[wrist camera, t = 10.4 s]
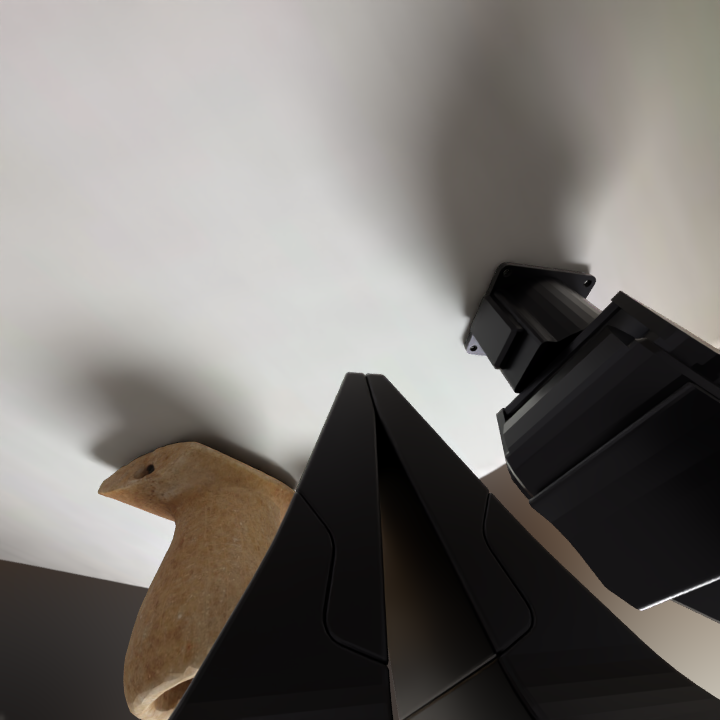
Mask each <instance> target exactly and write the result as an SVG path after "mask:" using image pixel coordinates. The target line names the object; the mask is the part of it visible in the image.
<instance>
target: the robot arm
mask: <svg viewBox="0 0 720 720" xmlns="http://www.w3.org/2000/svg"><path fill="white" fill-rule="evenodd" d="M507 269H509V270H508V272H507V273H506V274H503V272H504V271H505V270H507ZM585 281H587V282H586V283H585V284H584V282H585ZM595 282H596V278H595V277H594V276H592V275H591V274H589V273H582V272H575V271H567V270H560V269H552V268H545V267H537V266H530V265H523V264H515V263H503V264H501V265H500V266H499V267H498V268H497V270H496V273H495V275H494V277H493V280H492V282H491V284H490V287H489V289H488V291H487V294H486V295H485V296H484V297H483V299H482V302H481V304H480V306H479V309H478V311H477V314H476V316H475V318H474V321H473V323H472V325H471V328H470V331H471V332H470V334H469V336H468V339H467V341H466V344H465V349H466V351H467V352H468V353H469V354H474V355H486V356H487V357H488V359H489V360H490V362H491V363H492V365H493V366H494V368H495V369H500V371H501V372H502V374H503V375H504V377H505V378H506V380H507V381H508V383H509V384H510V386H511V387H512V389H513V390H514V392H515V393H520V394H519V395H518V396H517V397H516V398H515V399H514V400H513V401H512V402H511V403H510V404H509V405H508V406H507V407H506V408H502V409H501V410H500V411H499V412H498V413H497V414H496V416H497V421H498V426H499V430H500V435H501V440H502V445H503V450H504V455H505V460H506V464H507V467H508V471H509V473H510V475H511V478H512V480H513V481H514V483H515V484H516V485H517V486H518V488H519V489H520V490H521V492H522V493H523V494H524V495H525V496H526V497H527V498H528V499H529V504H530V505H531V507H532V508H533V509H535V510H536V511H537V512H538V513H540V514H541V515H542V516H543V517H545V518H546V519H547V520H548V521H549V522H551V523H552V524H553V525H554V526H555V527H556V528H557V529H558V530H559V531H560V532H561V533H562V535H563V536H564V537H565V538H566V539H567V540H568V541H569V542H570V543H571V544H572V546H573V547H574V548H575V549H576V550H577V551H578V553H579V554H580V555H581V556H582V558H583V559H584V560H585V562H586V563H587V564H588V565H589V567H590V568H591V569H592V571H593V572H594V573H595V575H596V576H597V577H598V579H599V580H600V581H601V582H602V584H603V585H604V586H605V587H606V588H607V589H608V590H610V591H611V592H613V593H614V594H616V595H617V596H618V597H620V598H621V599H623V600H624V601H626V602H627V603H628V604H630V605H631V606H633V607H634V608H636V609H638V610H645V609H648V608H650V607H653V606H655V605H658V604H660V603H663V602H665V601H668V600H672V601H673V602H676V603H678V604H680V605H682V606H684V607H686V608H688V609H690V610H692V611H695V612H696V613H699V614H701V615H703V616H705V617H707V618H709V619H711V620H713V621H715V622H717V623H720V350H718V349H716V348H715V347H713V346H712V345H710V344H708V343H707V342H705V341H704V340H702V339H700V338H699V337H697V336H695V335H694V334H692V333H691V332H689V331H687V330H686V329H684V328H683V327H681V326H679V325H678V324H676V323H674V322H673V321H671V320H669V319H668V318H666V317H664V316H662V315H661V314H659V313H657V312H656V311H654V310H652V309H651V308H649V307H647V306H646V305H644V304H642V303H640V302H639V301H637V300H635V299H634V298H632V297H630V296H629V295H627V294H625V293H624V292H622V291H619V292H618V293H617V294H616V295H615V296H614V297H613V298H612V299H611V301H612V302H611V303H610V304H609V305H608V306H607V307H606V308H605V309H604V310H603V311H601V310H600V309H598V308H597V307H595V306H594V305H593V304H591V303H590V302H589V301H587V300H586V297H587V296H588V294H589V293H590V291H591V289H592V288H593V286H594V285H595ZM474 345H475V346H474ZM472 346H474V347H473V348H471V347H472ZM488 493H489V490H488V489H487V487H486V486H485V485H484V484H483V483H482V482H481V481H480V480H479V479H478V478H477V476H476V475H475V474H474V473H473V472H472V471H471V470H470V469H469V468H468V467H467V466H466V464H465V463H464V462H463V461H462V460H461V459H460V458H459V457H458V456H457V455H456V453H455V452H454V451H453V450H452V449H451V448H450V447H449V446H448V445H447V444H446V443H445V441H444V440H443V439H442V438H441V437H440V436H439V435H438V434H437V433H436V432H435V430H434V429H433V428H432V427H431V426H430V425H429V424H428V423H427V422H426V421H425V420H424V418H423V417H422V416H421V415H420V414H419V413H418V412H417V411H416V410H415V409H414V407H413V406H412V405H411V404H410V403H409V402H408V401H407V400H406V399H405V398H404V397H403V395H402V394H401V393H400V392H399V391H398V390H397V389H396V388H395V387H394V386H393V384H392V383H391V382H390V381H389V380H388V379H387V378H386V377H385V376H384V375H382V374H369V373H368V374H366V375H364V374H363V373H354V372H348V373H346V375H345V377H344V379H343V382H342V384H341V386H340V389H339V391H338V393H337V396H336V398H335V400H334V403H333V405H332V407H331V410H330V412H329V414H328V417H327V419H326V421H325V424H324V426H323V428H322V431H321V433H320V435H319V438H318V440H317V442H316V445H315V447H314V449H313V451H312V454H311V456H310V458H309V461H308V463H307V465H306V468H305V470H304V472H303V475H302V477H301V479H300V482H299V484H298V486H297V489H296V493H294V495H293V497H292V500H291V502H290V504H289V507H288V509H287V511H286V513H285V516H284V518H283V520H282V522H281V524H280V526H279V528H278V530H277V533H276V535H275V537H274V539H273V541H272V543H271V545H270V547H269V548H268V550H267V552H266V554H265V556H264V558H263V559H262V561H261V563H260V565H259V567H258V569H257V570H256V572H255V574H254V576H253V578H252V579H251V581H250V583H249V585H248V586H247V588H246V590H245V591H244V593H243V595H242V596H241V598H240V600H239V602H238V603H237V605H236V607H235V608H234V610H233V612H232V613H231V615H230V617H229V619H228V620H227V622H226V624H225V625H224V627H223V629H222V630H221V632H220V634H219V636H218V637H217V639H216V641H215V642H214V644H213V646H212V647H211V649H210V651H209V653H208V654H207V656H206V658H205V659H204V661H203V663H202V664H201V666H200V668H199V670H198V671H197V673H196V675H195V676H194V678H193V680H192V681H191V683H190V685H189V686H188V688H187V690H186V691H185V693H184V694H183V696H182V698H181V699H180V701H179V703H178V704H177V706H176V707H175V709H174V711H173V712H172V714H171V715H170V717H169V718H168V720H393V715H392V704H391V693H390V679H389V669H388V667H387V665H388V661H389V660H388V651H389V657H390V663H391V670H392V676H393V682H394V689H395V695H396V701H397V708H398V714H399V719H400V720H720V700H719V699H718V698H716V697H715V696H713V695H711V694H710V693H708V692H707V691H705V690H704V689H702V688H701V687H699V686H698V685H696V684H695V683H693V682H692V681H691V680H689V679H688V678H687V677H685V676H684V675H682V674H681V673H680V672H678V671H677V670H676V669H674V668H673V667H672V666H671V665H670V664H668V663H667V662H666V661H665V660H663V659H662V658H661V657H660V656H659V655H657V654H656V653H655V652H654V651H653V650H652V649H651V648H649V647H648V646H647V645H646V644H645V643H644V642H643V641H642V640H641V639H640V638H638V636H637V635H635V634H634V633H633V632H632V631H631V630H630V629H629V628H628V627H627V626H626V625H625V624H624V623H623V622H622V621H621V620H620V619H618V618H617V617H616V616H615V615H614V614H613V613H612V612H611V611H610V610H609V609H608V608H607V607H606V606H605V605H604V604H602V603H601V602H600V601H599V600H598V599H597V598H596V597H595V596H594V595H593V594H592V593H591V592H590V591H589V590H588V589H587V588H586V587H584V586H583V585H582V584H581V583H580V582H579V581H578V580H577V579H576V578H575V577H574V576H573V575H572V574H571V573H570V572H569V571H568V570H567V569H565V568H564V567H563V566H562V565H561V564H560V563H559V562H558V561H557V560H556V559H555V558H554V557H553V556H552V555H551V554H550V553H549V552H548V551H547V550H546V549H545V548H544V547H543V546H542V545H541V544H540V543H539V542H538V541H537V540H536V539H534V537H532V535H531V534H530V533H529V532H528V531H527V530H526V529H525V528H524V527H523V526H522V525H521V524H520V523H519V522H518V521H517V520H516V519H515V518H514V517H513V515H512V514H511V513H509V511H508V510H507V509H506V508H505V507H504V506H503V505H502V504H501V503H500V501H499V500H498V499H497V498H496V497H495V496H494V495H493V494H492V493H489V494H488Z"/></svg>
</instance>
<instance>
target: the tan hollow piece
mask: <svg viewBox="0 0 720 720" xmlns="http://www.w3.org/2000/svg"><path fill="white" fill-rule="evenodd" d="M294 493H296V492H295V491H294V490H292V489H291V488H290V487H288V486H287V485H286V484H284V483H282V482H281V481H279V480H277V479H275V478H273V477H271V476H269V475H267V474H265V473H264V472H262V471H259V470H257V469H255V468H253V467H251V466H249V465H247V464H245V463H243V462H240V461H238V460H236V459H234V458H232V457H229V456H227V455H225V454H223V453H221V452H219V451H217V450H214V449H212V448H210V447H208V446H205V445H203V444H201V443H198V442H182V443H174V444H171V445H167V446H165V447H161V448H158V449H156V450H155V451H153V452H152V453H148V454H145V455H143V456H141V457H139V458H137V459H134V460H133V461H132V462H131V463H129V464H128V465H126V466H123V467H121V468H120V469H119V470H117V471H116V472H115V473H114V474H113V475H111V476H110V477H109V478H107V479H106V480H104V481H103V483H102V484H101V486H100V488H99V490H98V494H101V495H103V496H106V497H109V498H113V499H116V500H118V501H121V502H123V503H126V504H129V505H131V506H134V507H137V508H139V509H142V510H144V511H147V512H150V513H152V514H155V515H158V516H160V517H163V518H166V519H168V520H171V521H174V522H175V525H176V528H175V532H174V536H173V540H172V542H171V545H170V547H169V549H168V551H167V553H166V555H165V557H164V559H163V561H162V563H161V565H160V567H159V569H158V571H157V573H156V575H155V577H154V579H153V581H152V583H151V585H150V587H149V590H148V592H147V595H146V597H145V599H144V601H143V603H142V605H141V608H140V610H139V613H138V616H137V619H136V622H135V625H134V628H133V632H132V635H131V638H130V642H129V646H128V650H127V653H126V657H125V665H124V678H123V679H124V693H125V697H126V701H127V704H128V707H129V709H130V712H131V713H132V714H134V715H135V716H136V717H137V718H139V719H142V720H168V718H169V717H170V715H171V714H172V712H173V711H174V709H175V707H176V706H177V704H178V703H179V701H180V699H181V698H182V696H183V694H184V693H185V691H186V690H187V688H188V686H189V685H190V683H191V681H192V680H193V678H194V676H195V675H196V673H197V671H198V670H199V668H200V666H201V664H202V663H203V661H204V659H205V658H206V656H207V654H208V653H209V651H210V649H211V647H212V646H213V644H214V642H215V641H216V639H217V637H218V636H219V634H220V632H221V630H222V629H223V627H224V625H225V624H226V622H227V620H228V619H229V617H230V615H231V613H232V612H233V610H234V608H235V607H236V605H237V603H238V602H239V600H240V598H241V596H242V595H243V593H244V591H245V590H246V588H247V586H248V585H249V583H250V581H251V579H252V578H253V576H254V574H255V572H256V570H257V569H258V567H259V565H260V563H261V561H262V559H263V558H264V556H265V554H266V552H267V550H268V548H269V547H270V545H271V543H272V541H273V539H274V537H275V535H276V533H277V530H278V528H279V526H280V524H281V522H282V520H283V518H284V516H285V513H286V511H287V509H288V507H289V504H290V502H291V500H292V497H293V495H294Z"/></svg>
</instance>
